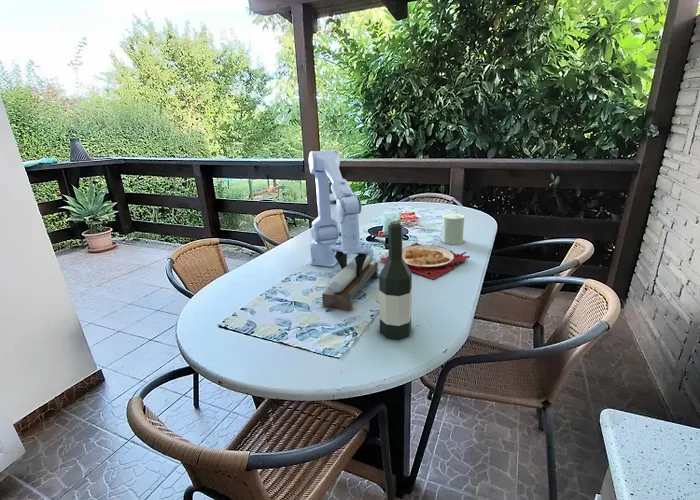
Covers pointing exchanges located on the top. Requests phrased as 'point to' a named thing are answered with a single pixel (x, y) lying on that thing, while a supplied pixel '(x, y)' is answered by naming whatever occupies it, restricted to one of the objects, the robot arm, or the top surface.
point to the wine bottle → (395, 289)
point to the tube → (347, 275)
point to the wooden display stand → (349, 290)
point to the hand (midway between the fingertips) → (352, 274)
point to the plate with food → (429, 259)
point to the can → (453, 228)
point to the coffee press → (334, 210)
